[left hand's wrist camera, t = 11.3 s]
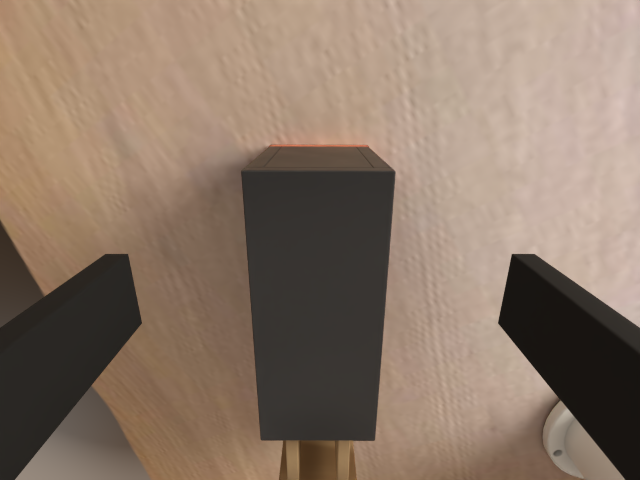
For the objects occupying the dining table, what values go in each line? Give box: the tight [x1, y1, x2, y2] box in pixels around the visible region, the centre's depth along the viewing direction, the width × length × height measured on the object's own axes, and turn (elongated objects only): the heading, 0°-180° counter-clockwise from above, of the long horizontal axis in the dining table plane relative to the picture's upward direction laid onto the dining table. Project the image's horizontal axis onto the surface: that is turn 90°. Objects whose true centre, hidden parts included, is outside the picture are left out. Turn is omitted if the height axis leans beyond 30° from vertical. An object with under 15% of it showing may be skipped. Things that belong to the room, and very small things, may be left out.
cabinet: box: [241, 145, 395, 441], centre depth 24 cm, size 16×7×11 cm, turn 0°
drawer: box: [279, 440, 357, 480], centre depth 28 cm, size 21×6×9 cm, turn 0°
